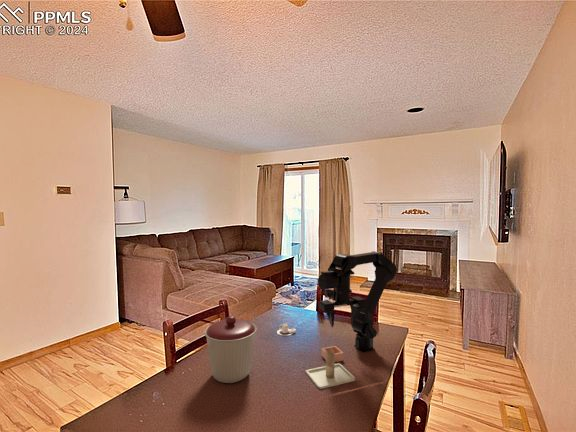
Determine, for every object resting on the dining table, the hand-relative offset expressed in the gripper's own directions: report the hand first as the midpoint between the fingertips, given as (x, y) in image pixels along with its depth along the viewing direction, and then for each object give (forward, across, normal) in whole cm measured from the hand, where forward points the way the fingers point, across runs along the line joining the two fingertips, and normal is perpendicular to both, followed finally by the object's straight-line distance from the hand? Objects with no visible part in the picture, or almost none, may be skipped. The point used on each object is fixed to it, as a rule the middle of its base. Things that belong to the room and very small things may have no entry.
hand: (342, 325), depth 124 cm
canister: (+13, +44, -2) cm, 46 cm away
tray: (+12, +12, +12) cm, 21 cm away
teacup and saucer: (+13, +13, -26) cm, 32 cm away
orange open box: (+12, +5, +1) cm, 14 cm away
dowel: (+12, +12, +12) cm, 21 cm away
